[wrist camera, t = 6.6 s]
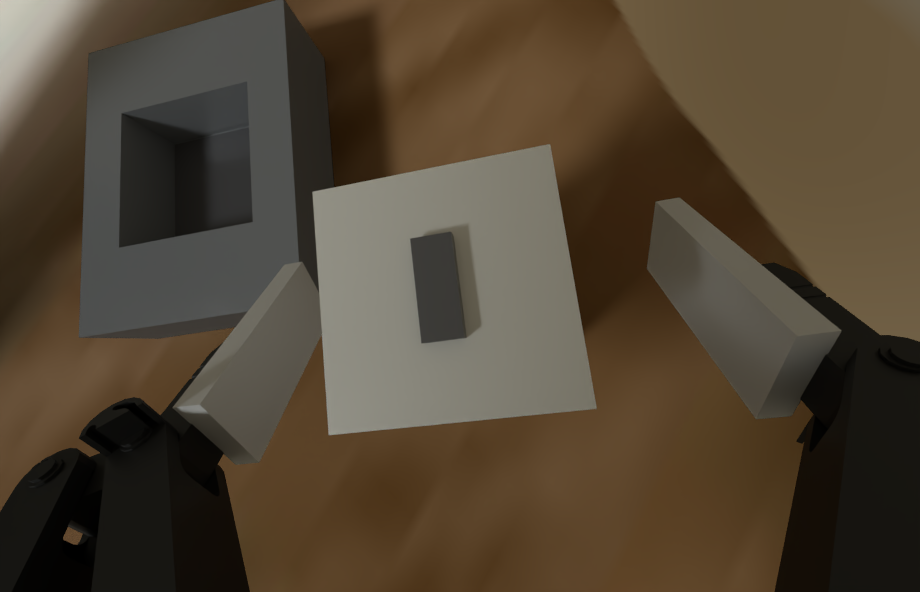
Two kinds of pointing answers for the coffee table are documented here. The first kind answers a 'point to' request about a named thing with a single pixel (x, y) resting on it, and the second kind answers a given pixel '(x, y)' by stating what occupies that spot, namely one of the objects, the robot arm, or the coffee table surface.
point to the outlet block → (200, 172)
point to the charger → (449, 296)
